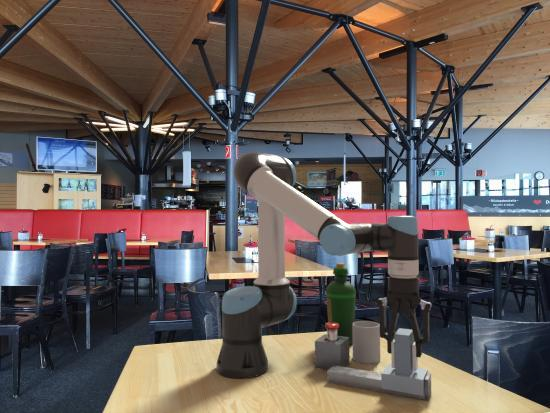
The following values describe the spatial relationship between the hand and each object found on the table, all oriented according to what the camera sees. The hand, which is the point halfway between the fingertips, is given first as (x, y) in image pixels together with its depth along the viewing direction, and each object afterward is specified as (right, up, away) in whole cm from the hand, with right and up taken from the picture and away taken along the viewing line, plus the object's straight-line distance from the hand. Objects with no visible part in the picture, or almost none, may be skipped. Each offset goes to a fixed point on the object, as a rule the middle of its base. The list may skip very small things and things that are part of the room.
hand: (404, 367), depth 109 cm
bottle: (-10, -7, +42) cm, 44 cm away
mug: (-4, -7, +27) cm, 28 cm away
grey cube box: (-16, -7, +19) cm, 26 cm away
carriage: (0, -5, 0) cm, 5 cm away
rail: (-6, -6, +3) cm, 9 cm away
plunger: (-16, -3, +19) cm, 25 cm away
